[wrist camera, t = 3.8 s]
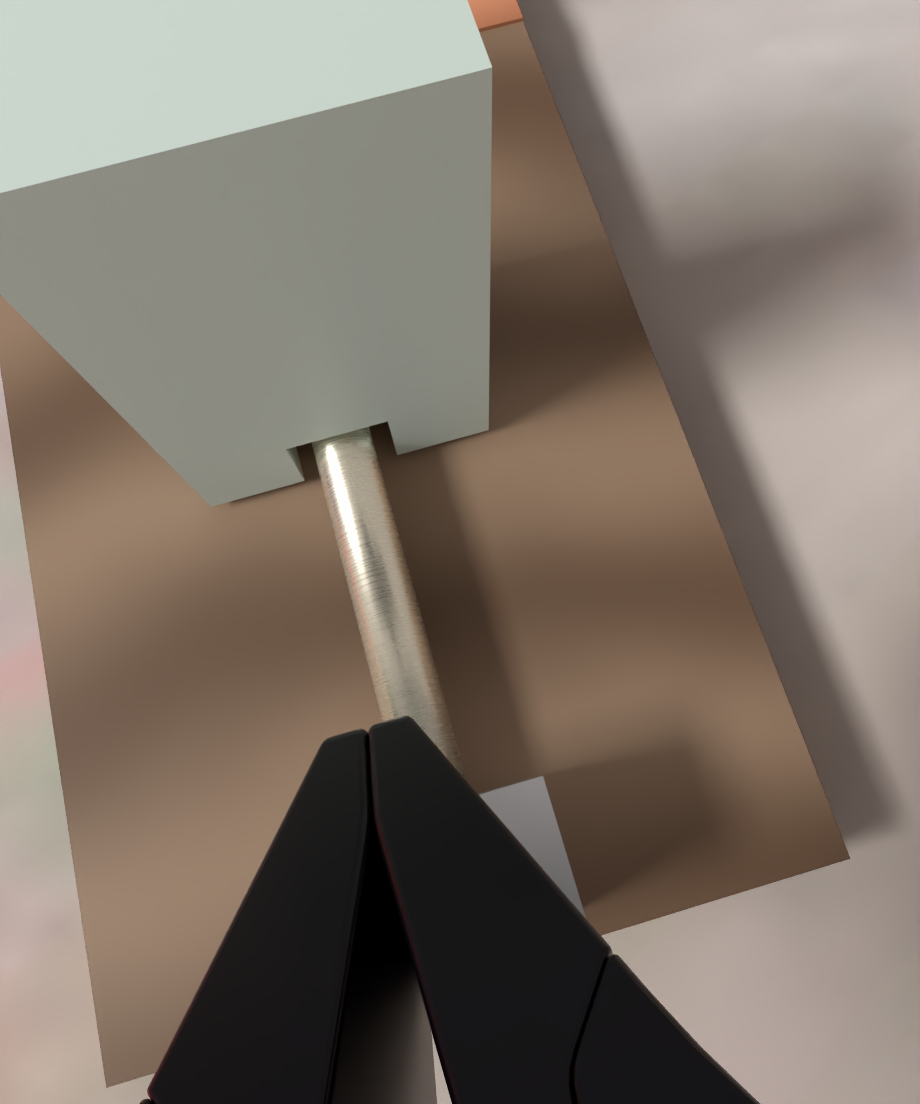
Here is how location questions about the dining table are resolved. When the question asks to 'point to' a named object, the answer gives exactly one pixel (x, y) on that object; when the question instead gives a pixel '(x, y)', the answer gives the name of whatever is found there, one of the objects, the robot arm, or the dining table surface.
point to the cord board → (445, 605)
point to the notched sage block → (253, 219)
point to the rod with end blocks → (414, 638)
